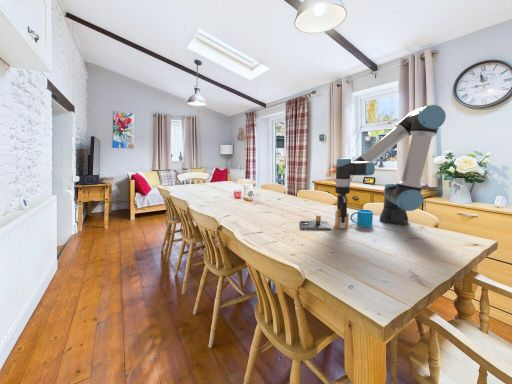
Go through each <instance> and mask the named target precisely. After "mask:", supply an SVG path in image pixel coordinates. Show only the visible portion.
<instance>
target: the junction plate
mask: <svg viewBox="0 0 512 384" xmlns="http://www.w3.org/2000/svg"><path fill="white" fill-rule="evenodd" d="M321 218H322V215H319V214H317V215H315V220H300V221H299V223H300V230H304V231H307V230H309V231H311V230H312V231H331V230H332V228H331V226H330V224H329V222H328V221H327V220H322V219H321Z"/></svg>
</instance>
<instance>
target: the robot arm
mask: <svg viewBox="0 0 512 384" xmlns="http://www.w3.org/2000/svg"><path fill="white" fill-rule="evenodd" d="M446 116H447V115H446V111H445V110H444V108H442V106H440V105H437V104H430V105H429V104H428V105H425V106H423V107H420V108H416V109H414V110H412V111H410V112H409V113H408V114H406V116H405V117H404V118H402V119H400V121H399V122H398V123H396V124H395V127H394V128H393V129H391V131H390V132H388V133H387V134H386V135H385V136H383V137H382V138H381V139H380V140H379V141H376V143H374V145H371V146H370V147H369V149H367V150H366V151H365V152H363V153H362V154H361V155H359V157H357V158H356V159H355V160H352V158H349V157H348V158H347V157H346V158H345V157H343V158H341V157H340V158H337V159H336V165H335V167H336V168H335V180H334V182H335V185H336V186H335V190H334V192H335V194H337V204H336V210H337V209H341V216H339V217H340V228H339V229H346V228H345V217H347V212H348V209H347V208H348V198H347V195H348V194H350V192H351V191H350V189H351V187H350V186H351V176H366V177H367V176H373V175H374V173H375V169H376V165H375V161H377V160H378V159H379V158H380V157H382V156H383V155H385V153H387V152H388V151H389V150H390V149H393V147H394V146H396V145H397V144H398V143H399V142H401V141H402V140H403V139H405V138H409V137H410V136H411V140H410V144H409V147H408V151H407V155H406V161H405V163H404V164H405V165H404V168H403V171H402V176H401V179H400V181H398V182H397V183H386V184H385V185H384V189H383V190H384V191H383V193H384V196H383V208H382V211H381V213H380V215H379V221H380V222H382V223H384V224H388V225H389V224H390V225H400V226H401V225H403V226H404V225H407V224H409V217H408V213H407V212H413V211H416V210H417V209H419V208H420V207H421V206H422V205H423V202H424V196H423V194H422V190H423V186H422V185H421V181H422V177H423V172H424V170H425V169H424V168H425V165H426V161H427V157H428V154H429V150H430V146H431V141H432V139H433V138H434V137H435V136H436V135H437V134H438V131H439V127H442V126H443V124H444V123H445V121H446V119H447V118H446Z"/></svg>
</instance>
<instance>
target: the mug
mask: <svg viewBox="0 0 512 384" xmlns="http://www.w3.org/2000/svg"><path fill="white" fill-rule="evenodd" d="M355 214H357V215H356V217H357V218H356V221H354V219H353V217H354V215H355ZM373 215H374V211H372V210H370V209H358V210H357V211H355V212H353V213H351V215H349V216H350V217H349V218H350V220H351V222H352V223H354V224H356V225H357V226H359V227H362V228H363V227H364V228H368V227H369V228H370V227H373V217H374V216H373Z"/></svg>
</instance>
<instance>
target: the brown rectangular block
mask: <svg viewBox="0 0 512 384" xmlns="http://www.w3.org/2000/svg"><path fill="white" fill-rule="evenodd" d="M334 212H335V216H334V217H335V219H334V225H335V227H336V229H341V228H340V217H339V216H341V209H337V208H336V210H335V211H334ZM349 216H350V213H349V212H348V211H347V217H345V228H344V229H349V218H350V217H349Z"/></svg>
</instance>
